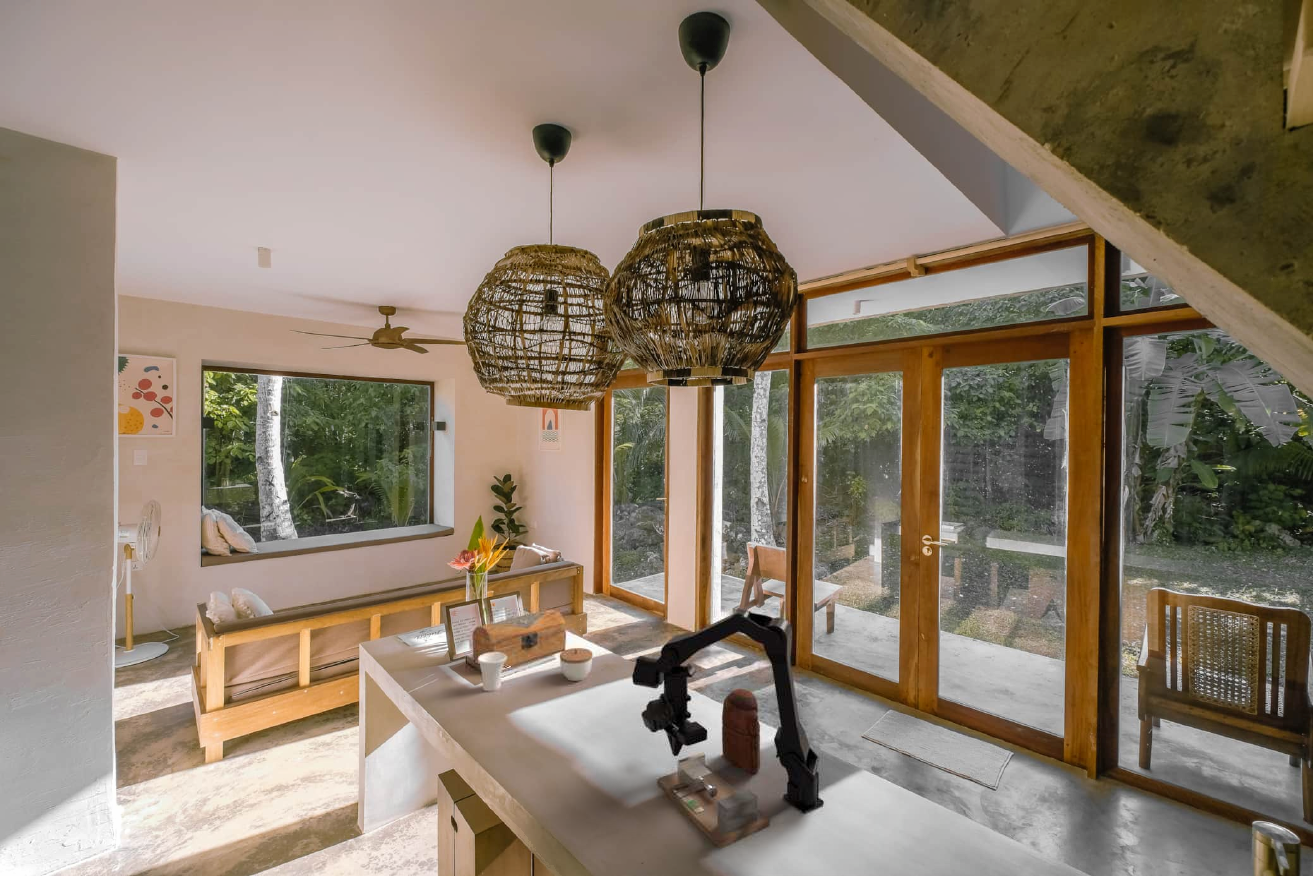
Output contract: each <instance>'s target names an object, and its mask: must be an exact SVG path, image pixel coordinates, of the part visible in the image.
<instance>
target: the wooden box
mask: <svg viewBox="0 0 1313 876" xmlns="http://www.w3.org/2000/svg"><path fill="white" fill-rule="evenodd" d="M566 629H567V628H566V621H565V618H564V617H563V615H562V614H561V613H560V612H558V611H557V610H555V609H546V610H542V611H537V612H533V613H529V614H528V613H526V614H523V615H519V616H515V617H511V618H507V619H503V620H499V621H495V622H493V623H489V624H484V625H481V626H480V625H479V626H476V627H475V628H474V630H473V632H472V636H471V637H472V638H471V639H472V653H473V654H472V656H473V657H472V658H473V662H475V661H477V662H478V657H479V656H480V655H482V654H485V653H490V652H501V653H504V654H505V655H506V657H507V660H506V661H505V662H504V665H503V668H507V667H509V666H511V668H516V667H518V666H521V665H524V664H528V663H530V662H531V663H532V662H533V661H537V660H539V658H540V659H543V658H546V657H549V656H552V655H551V654H553V655H555V654H559V653H561V652H563V651H565V650H566V643H567V642H566V641H567V640H566V639H567V630H566ZM511 668H510V669H511Z"/></svg>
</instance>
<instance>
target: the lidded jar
mask: <svg viewBox="0 0 1313 876" xmlns="http://www.w3.org/2000/svg"><path fill="white" fill-rule="evenodd" d="M559 661H560V662H559V663H560V664H559V665H560V670H561V672H562V674H563V675H564V676H565V677H566V679H567V680H569V681H572V682H579V681H582V680H585V678H586V677H587V676H588V674H589V673H591V669H592V664H593V652H592V651H591V650H590V649H587V648H582V647H574V648H568V649H565V651H562V652H560V654H559Z"/></svg>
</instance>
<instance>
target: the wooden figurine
mask: <svg viewBox="0 0 1313 876" xmlns="http://www.w3.org/2000/svg"><path fill="white" fill-rule="evenodd" d="M722 705H723V706H722V713H721V715H722V716H721V725H722V726H721V742H722V743H721V745H722V746H721V747H722V757H723V758H724V759H725V760H726V761H727V762H729V763H731V764H732V765H734V766H736V767H738V768H740V769H742V770H743V771H745V772H747V773H749V774H757V773H758V772H759V770H760V769H761V735H760V732H761V724H760V721H759V717H758V713H759V707H758V705H759V704H758V702H757V697H756V695H755V694H754V693H753V692H752V691H750V690H747V689H745V688H737V689H735V690H733V691H731V692H730V693H728V695H727V696H725V698H724V700H723V703H722Z"/></svg>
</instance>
